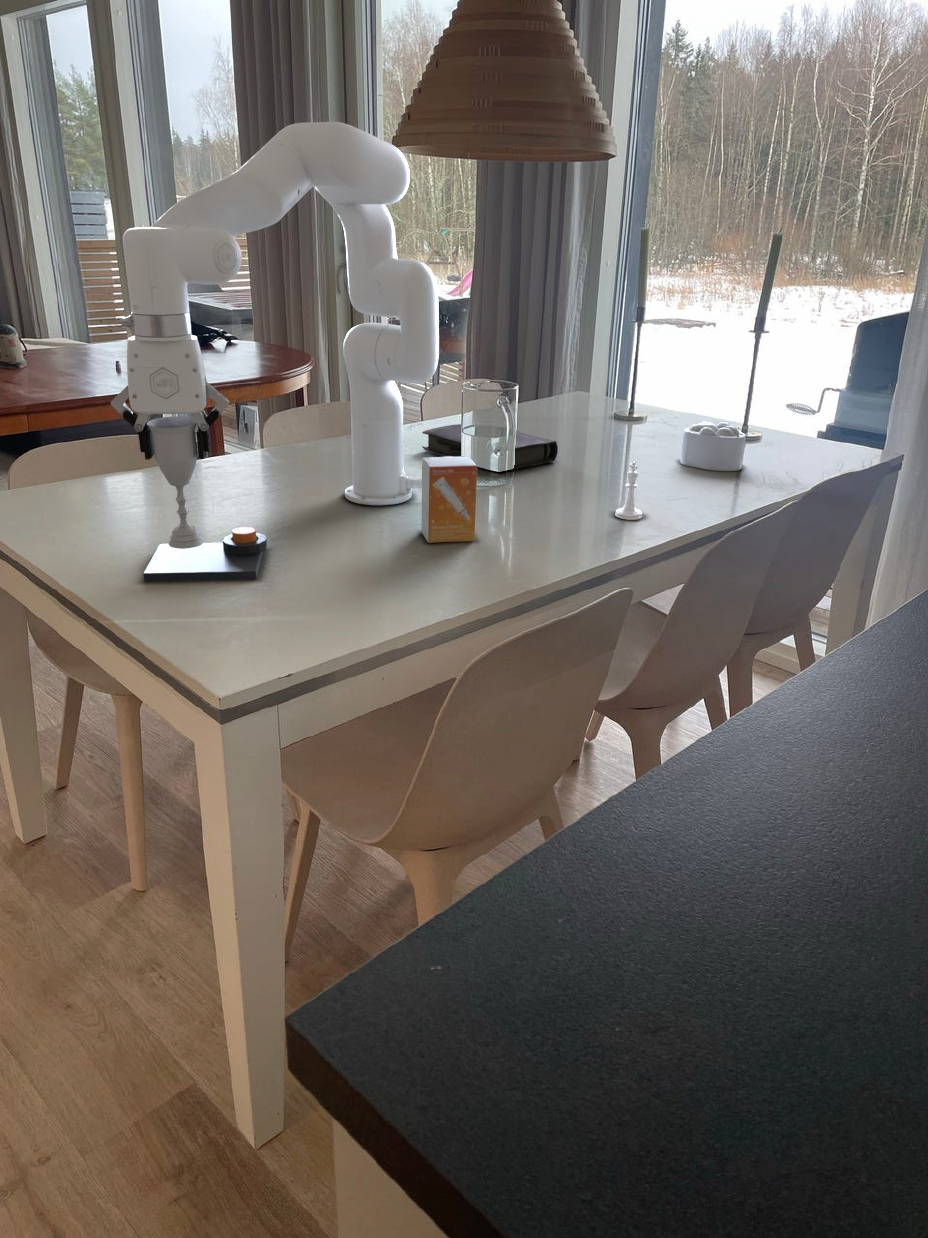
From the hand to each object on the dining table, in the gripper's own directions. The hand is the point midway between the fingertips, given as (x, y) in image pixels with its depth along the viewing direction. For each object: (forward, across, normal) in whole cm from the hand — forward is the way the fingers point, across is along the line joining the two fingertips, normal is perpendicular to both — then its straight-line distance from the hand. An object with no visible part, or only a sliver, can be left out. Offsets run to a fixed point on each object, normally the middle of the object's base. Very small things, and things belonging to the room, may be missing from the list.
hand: (176, 455), depth 132 cm
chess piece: (+18, +74, +23) cm, 80 cm away
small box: (+18, +40, +13) cm, 46 cm away
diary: (+18, +54, +67) cm, 88 cm away
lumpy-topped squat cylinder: (+18, +103, +59) cm, 121 cm away
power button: (+15, +8, +5) cm, 18 cm away
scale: (+17, +2, +2) cm, 18 cm away
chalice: (+13, 0, 0) cm, 13 cm away
